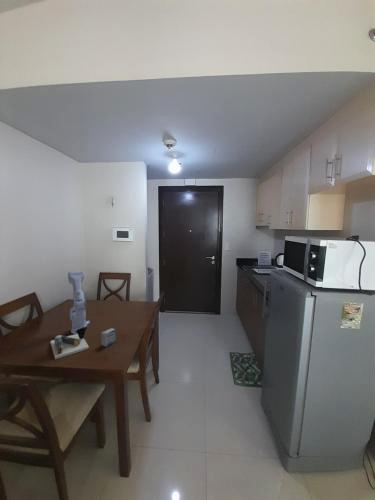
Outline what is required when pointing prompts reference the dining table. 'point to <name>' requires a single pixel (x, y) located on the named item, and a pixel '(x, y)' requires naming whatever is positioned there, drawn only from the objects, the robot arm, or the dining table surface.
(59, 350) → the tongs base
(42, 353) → the dining table surface
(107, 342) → the medicine box
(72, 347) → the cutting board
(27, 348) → the dining table surface
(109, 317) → the dining table surface
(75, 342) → the tongs arm
